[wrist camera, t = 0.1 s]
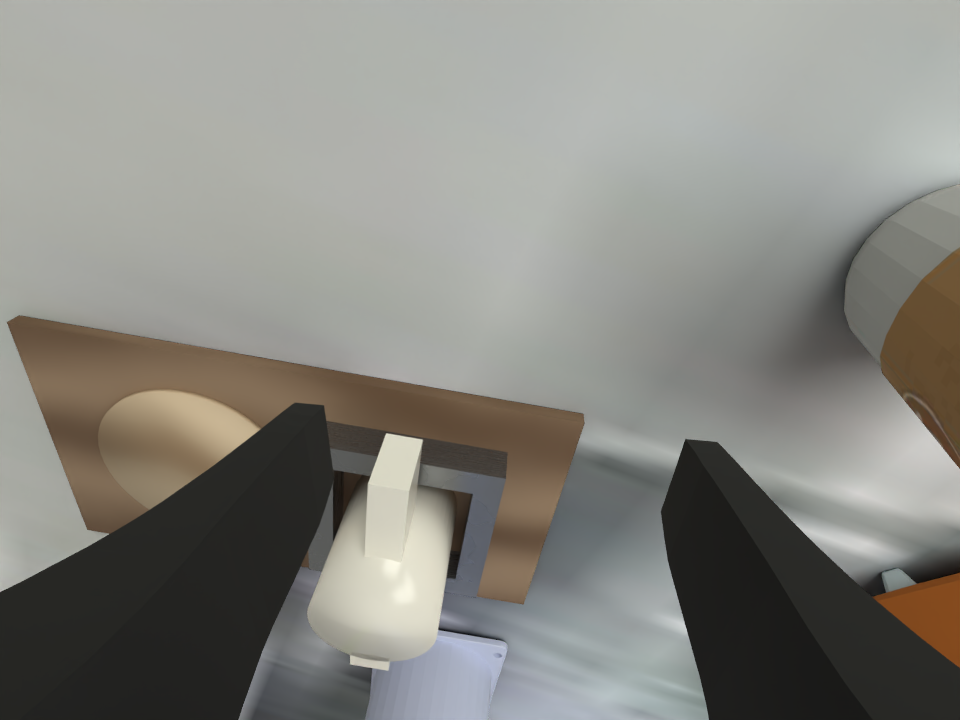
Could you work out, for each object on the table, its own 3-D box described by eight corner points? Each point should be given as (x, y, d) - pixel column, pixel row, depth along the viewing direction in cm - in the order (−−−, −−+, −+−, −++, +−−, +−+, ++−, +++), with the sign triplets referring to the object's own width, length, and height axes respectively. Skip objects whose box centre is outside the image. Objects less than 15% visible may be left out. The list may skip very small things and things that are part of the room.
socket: (479, 569, 28) (476, 597, 26) (320, 542, 28) (309, 569, 26) (507, 452, 23) (505, 478, 22) (317, 419, 23) (303, 443, 22)
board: (523, 594, 29) (523, 604, 29) (95, 520, 29) (87, 529, 29) (583, 414, 22) (584, 423, 22) (18, 315, 22) (6, 322, 22)
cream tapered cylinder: (449, 551, 27) (429, 677, 22) (352, 534, 27) (309, 657, 22) (475, 408, 22) (457, 529, 17) (356, 388, 22) (301, 501, 17)
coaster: (295, 541, 28) (293, 546, 28) (125, 512, 28) (121, 517, 27) (287, 408, 23) (284, 412, 23) (80, 372, 23) (75, 376, 23)
